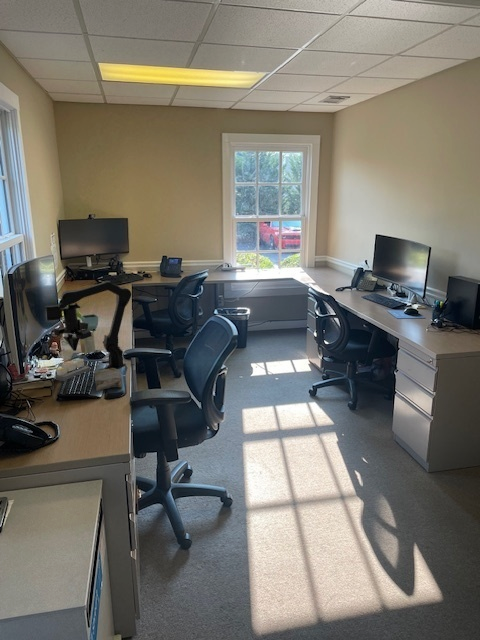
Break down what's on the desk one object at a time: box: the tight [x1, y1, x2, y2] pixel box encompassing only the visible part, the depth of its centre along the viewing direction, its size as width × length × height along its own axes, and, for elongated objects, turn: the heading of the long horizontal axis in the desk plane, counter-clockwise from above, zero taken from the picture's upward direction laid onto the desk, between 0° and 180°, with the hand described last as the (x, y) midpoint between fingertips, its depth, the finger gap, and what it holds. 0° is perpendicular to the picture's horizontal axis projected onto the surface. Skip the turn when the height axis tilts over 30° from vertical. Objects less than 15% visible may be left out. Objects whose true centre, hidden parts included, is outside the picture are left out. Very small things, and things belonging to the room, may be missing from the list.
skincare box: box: [79, 330, 96, 354], centre depth 245 cm, size 6×4×12 cm
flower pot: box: [80, 313, 99, 331], centre depth 298 cm, size 9×9×9 cm
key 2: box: [62, 360, 76, 372], centre depth 215 cm, size 4×4×4 cm
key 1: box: [70, 357, 85, 368], centre depth 219 cm, size 4×4×4 cm
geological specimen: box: [93, 367, 123, 392], centre depth 202 cm, size 11×6×15 cm
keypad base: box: [55, 365, 91, 382], centre depth 216 cm, size 10×16×2 cm, turn 151°
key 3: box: [56, 367, 67, 376], centre depth 211 cm, size 4×4×4 cm
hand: (74, 350), depth 217 cm, fingers closed
